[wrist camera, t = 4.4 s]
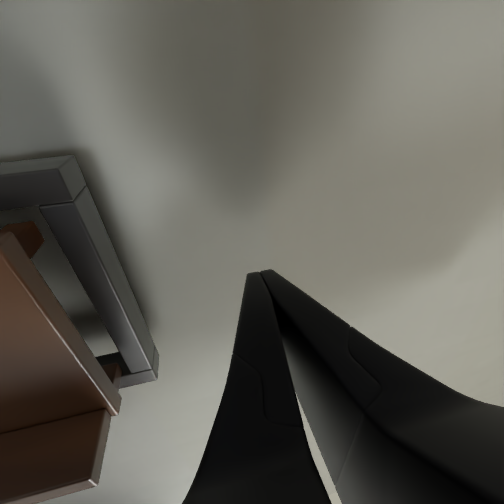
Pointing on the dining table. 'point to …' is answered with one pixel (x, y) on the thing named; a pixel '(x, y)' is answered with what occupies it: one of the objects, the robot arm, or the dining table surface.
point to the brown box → (60, 338)
